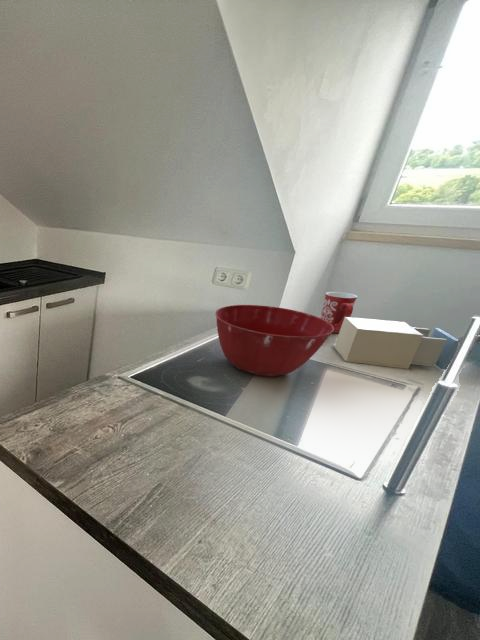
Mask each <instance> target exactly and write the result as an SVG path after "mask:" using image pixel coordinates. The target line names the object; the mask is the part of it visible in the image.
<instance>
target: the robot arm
mask: <svg viewBox="0 0 480 640" xmlns="http://www.w3.org/2000/svg"><path fill="white" fill-rule="evenodd" d="M477 335H478V334H477ZM477 335H476V336H477ZM475 343H476V344H480V335H478V336H477V338H476V340H475ZM475 343H474V344H475Z"/></svg>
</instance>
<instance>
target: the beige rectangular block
mask: <svg viewBox="0 0 480 640" xmlns="http://www.w3.org/2000/svg"><path fill="white" fill-rule="evenodd" d="M414 328H415V327H414ZM414 328H412V326H411V325H410V324H408V323H407V322H405V321H398V320H388V319H387V320H385V319H374V318H362V317H352V316H350V317H345V318H344V321H343V324H342V326H341V329H340V332H339V333H338V335H337V338H336V341H335V344H334V349H335V350H336V352H337V353H338V354H339V355H340V356H341V357H342V359H343V360H344V361H345V362H347V363H348V362H349V363H357V364H364V365H373V366H374V365H375V366H383V367H389V368H397V369H406V370H409V368H410V366H411V365H412V364H411V362H412V360H413V358H414V355H415V353H416V351H417V349H418V346H419V344H420V342H421V340H422V337H423V334H421V333H420V332H418V331H417V330H415V329H414Z"/></svg>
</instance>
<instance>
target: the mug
mask: <svg viewBox="0 0 480 640" xmlns="http://www.w3.org/2000/svg"><path fill="white" fill-rule="evenodd" d="M324 296H325V297H324V300H323V304H322V309H321V313H320V317H319V318H321V319H323V320H325V321H327V322H329V323H330V324H331V325H332V326H333V327H334V331H333V332H332V333H331V334H339V332H340V329H341V326H342V324H343V321H344V318H345V317H352V314H353V311H354V305H355V303H356V301H357V299H358V297H359V296H358V295H357V294H353V293H348V292H343V291H342V292H340V291H328V292H325V294H324Z"/></svg>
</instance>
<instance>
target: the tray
mask: <svg viewBox="0 0 480 640" xmlns="http://www.w3.org/2000/svg"><path fill="white" fill-rule="evenodd" d="M411 327H412V326H411ZM412 328H414V329H415V330H417V331H418V332H420V333H421V334H423V337H422V340H421V342H420V344H419V346H418V349H417V351H416V353H415V355H414V358H413V360H412V362H411V364H410V365H417V366H425V367H435V366H437V368H439V369H440V370H445V371H447V370H448V369H447V367H448V365H449V364H450V365H451V362H452V360H453V359H454V356H455V354H456V353H457V352H456V350H457V347H458V340H459V339H458V338H456V337H455V336H453V335H452V334H450V333H448V332H446V331H444V330H443V329H442V328H440V327H434V329H433V330H432V332H431V329H430V328H423V327H412ZM430 332H431V335H430ZM429 335H430V336H429ZM428 336H429V337H428ZM469 350H470V351H469V353H468V354H467V355H470V354H471V353H472V350H471V349H469ZM450 365H449V366H450ZM448 368H449V367H448ZM446 369H447V370H446Z"/></svg>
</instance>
